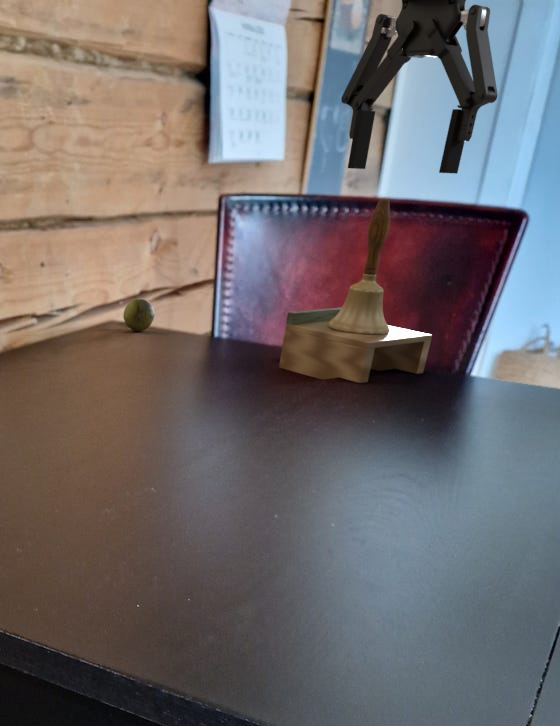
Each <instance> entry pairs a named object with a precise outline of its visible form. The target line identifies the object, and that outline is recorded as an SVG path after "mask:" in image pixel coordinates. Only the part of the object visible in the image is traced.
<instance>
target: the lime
mask: <svg viewBox="0 0 560 726" xmlns="http://www.w3.org/2000/svg"><path fill="white" fill-rule="evenodd" d="M122 317H123V321H124V324H125V326H127V328H129V329H130V330H132V331H134V332H143V331H146V330H147V329H148V328H150V326H151V325H152V324H153V322H154V318H155V310H154V307H153V305H152V304H151V303H150V302H149V301H147V300H146V299H143V298H138V299H133V300H132V301H131V302H129V303H128V304H127V305H126V306H125V308H124V311H123V315H122Z"/></svg>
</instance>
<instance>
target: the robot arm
mask: <svg viewBox="0 0 560 726" xmlns="http://www.w3.org/2000/svg"><path fill="white" fill-rule="evenodd" d="M466 1H467V0H401V5H402V6H401V10H400V12H399V14H398V16H394V15H389V14H384V13H379V14H378V15H377V16H376V19H375V21H374V26H373V30H372V34H371V37H370V39H369V42H368V43H367V45H366V48H365V49H364V51H363V53H362V55H361V57H360V59H359V62H358V63H357V65H356V68H355V69H354V71H353V73H352V75H351V77H350V79H349V82H348V84H347V85H346V87H345V89H344V92H343V93H342V96H341V103H342V104H344V105H347V106H349V107H351V109H352V114H351V115H352V116H351V121H350V126H349V134H348V136H349V139H350V140H351V145H350V151H349V157H348V162H347V163H348V164H347V169H355V170H357V169H358V170H366V167H367V161H368V155H369V150H370V145H371V139H372V133H373V128H374V122H375V116H376V110H374V108H373V105H374V104H375V103H376V101H377V100H378V99H379V97H380V96H381V95H382V94H383V92H384V91H385V90H386V88H387V86H388V85H390V83H391V82H392V80H393V79H394V78H395V77H396V76H397V74H398V73H399V71H400V70H401V69H402V68H403V66H405V64H407V63H408V62H410V60H411V59H412V58H413V59H423V58H425V57H429V58H438V59H439V61H441V62H440V63H441V64H442V66H443V69H444V71H445V73H446V76H447V78H448V80H449V83H450V85H451V88H452V90H453V92H454V94H455V96H456V99H457V101H458V104H459V105H456V106H457V108H453V109H452V111H451V114H450V115H451V116H450V120H449V125H448V130H447V134H446V138H445V144H444V147H443V153H442V158H441V162H440V166H439V172H438V173H439V174H458V173H459V168H460V164H461V159H462V155H463V150H464V145H465V142H470V141H471V138H472V137H473V133H474V128H475V123H476V120H477V115H478V112H479V110H480V109H481V107H484V106H485V105H488V104H493V103H495V102H496V101H497V99H498V87H497V81H496V74H495V69H494V62H493V56H492V49H491V43H490V37H489V23H490V16H491V9H490V8H489V7H488V6H484V5H479V4H472V5H471V6H470V7H469V9H466ZM462 27H463V29H464V30H465V37H466V38H465V39H466V44H467V51H468V57H469V62H470V69H471V70H470V71H471V73H470V71H469V68H468V66H467V63H466V61H465V58H464V57H463V54H462V52H463V49H462V47H461V44H460V42H459V40H458V38H457V35H458V33H459V32H460V31H461V29H462ZM396 35H397V36H396ZM394 36H396V38H395V40H394V41H393V42H392V39H393V37H394ZM391 42H392V44H391ZM390 44H391V45H390ZM389 46H390V47H389ZM385 54H386V56H385ZM384 56H385V57H384Z"/></svg>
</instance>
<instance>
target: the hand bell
mask: <svg viewBox="0 0 560 726" xmlns="http://www.w3.org/2000/svg"><path fill="white" fill-rule="evenodd" d="M390 202H391V200H390V199H389V198H379V199H378V202H377V204H376V207H375V208H374V210H373V213H372V215H371V217H370V220H369V224H368V229H367V249H368V250H367V256H366V260H365V265H364V269H363V273H362V274H363V275H362V279H360V281H358V282H356V283H353V284H352V285H350V287H349V289H348V292H347V296H346V299H345V301H344V303H343V305H342V306H341V307H342V309H341V310H340V312H339V313H338V314H337V315H336V317H334V318H333V319H331V320H330V322H329V323H328V326H329V327H331V328H333V329H336V330H339V331H343V332H349V333H356V334H365V335H366V334H368V335H381V334H387V333H389V332H390V329H389V326H390V325H389V324H388V323H387V321H386V319H385V316H384V309H383V307H384V305H383V303H384V302H383V301H384V292H385V291H384V288H383V287H382V286H381V285H380V284H378V283H377V281H376V279H377V273H378V267H379V260H380V255H381V252H382V250H383V247H384V244H385V243H386V241H387V237H388V235H389V231H390V228H391V208H390V206H391V205H390Z"/></svg>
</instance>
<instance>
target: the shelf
mask: <svg viewBox="0 0 560 726" xmlns="http://www.w3.org/2000/svg"><path fill="white" fill-rule="evenodd" d="M342 307H343V306H341V307H331V308H320V309H309V310H295V311H288V312H287V316H286V321H285V323H286V324H285V328H284V333H283V338H282V346H281V351H280V352H281V353H280V358H279V364H278V368H279V369H283V370H287V371H288V372H289V371H290V372H293V373H296V374H300V375H304V376H308V377H310V378H315V379H319V380H321V381H324V380H329V379H336V378H340V379H344V380H347V381H350V382H354V383H359V384H363V383H368V382H369V377H370V373H371V370H374V371H377V372H383V371H388V370H394V369H395V370H400V371H403V372H407V373H411V374H415V375H419V374H424V371H425V367H426V363H427V359H428V355H429V351H430V346H431V342H432V338H433V334H431V333H425V332H421V331H416V330H411V329H408V328H402V327H397V326H393V325H388V326H389V329H390V332H389V333H387V334H381V335H368V334H366V335H365V334H356V333H349V332H343V331H339V330H336V329H333V328H331V327H329V326H328V323H329V322H330V320H331V319H333V318H334V317H336V315H337V314H338V313H339V312H340V310H341V309H342Z"/></svg>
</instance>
